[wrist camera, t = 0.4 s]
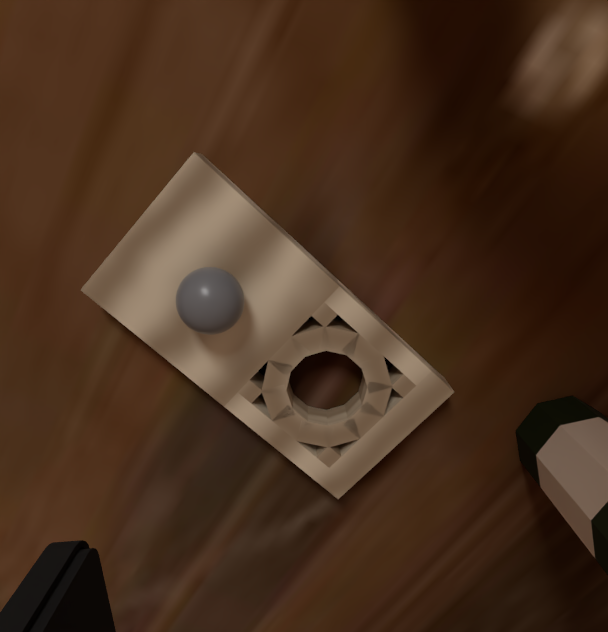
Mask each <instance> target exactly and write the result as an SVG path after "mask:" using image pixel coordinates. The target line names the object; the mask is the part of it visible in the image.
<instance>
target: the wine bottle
mask: <svg viewBox="0 0 608 632" xmlns="http://www.w3.org/2000/svg"><path fill="white" fill-rule="evenodd" d="M516 436H517V443H518V450H519V456H520V461H521V463H522V464H523V465H524V466H525V468H526V469H527V470H528V472H529V473H530V474H531V476H532V477H533V478H534V479H535V481H536V482H537V483H538V485H539V486H540V487H541V489H542V490H543V491H544V492H545V494H546V495H547V496H548V498H549V499H550V500H551V502H552V503H553V504H554V506H555V507H556V508H557V509H558V511H559V512H560V513H561V515H562V516H563V517H564V519H565V520H566V521H567V522H568V524H569V525H570V526H571V528H572V529H573V530H574V532H575V533H576V534H577V535H578V537H579V538H580V539H581V541H582V542H583V543H584V545H585V546H586V547H587V549H588V550H589V551H590V552H591V554H592V555H593V556H594V558H595V559H596V560H597V562H598V563H599V564H600V565H601V567H602V568H603V569H604V571H605V572H606V573H607V575H608V418H607V417H605V416H604V415H603V414H602V413H600V412H599V411H597V410H595V409H594V408H592V407H591V406H589V405H587V404H586V403H584V402H582V401H581V400H579V399H577V398H576V397H574V396H569V397H564V398H560V399H555V400H551V401H546V402H542V403H537V404H536V406H535V407H534V408H533V410H532V411H531V412H530V413H529V415H528V416H527V417H526V418H525V420H524V421H523V422H522V423H521V425H520V426H519V427H518V429H517V430H516Z"/></svg>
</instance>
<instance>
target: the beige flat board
mask: <svg viewBox="0 0 608 632" xmlns="http://www.w3.org/2000/svg"><path fill="white" fill-rule="evenodd" d="M204 267H216V268H220V269H223V270H225V271H227V272H229V273H230V274H232V275H233V276H234V277H235V278H236V279H237V281H238V282H239V284H240V285H241V287H242V290H243V293H244V309H243V312H242V315H241V317H240V319H239V320H238V321H237V323H236V324H235V325H234V326H233V327H231V328H230V329H228V330H227V331H225V332H222V333H219V334H214V335H208V334H201V333H198V332H196V331H194V330H192V329H190V328H189V327H188V326H187V325H186V324H185V323H184V322H183V321H182V320H181V318H180V316H179V314H178V312H177V308H176V293H177V290H178V287H179V285H180V283H181V282H182V280H183V279H184V278H185V277H186V276H187V275H188V274H189V273H191V272H193V271H195V270H197V269H200V268H204ZM81 291H82V292H84V293H85V294H86V295H87V296H89V297H90V298H91V299H92V300H93V301H95V302H96V303H97V304H98V305H100V306H101V307H102V308H103V309H105V310H106V311H107V312H108V313H109V314H111V315H112V316H113V317H114V318H116V319H117V320H118V321H119V322H121V323H122V324H123V325H124V326H125V327H127V328H128V329H129V330H130V331H132V332H133V333H134V334H135V335H137V336H138V337H139V338H140V339H141V340H143V341H144V342H145V343H146V344H148V345H149V346H150V347H151V348H153V349H154V350H155V351H156V352H157V353H159V354H160V355H161V356H162V357H164V358H165V359H166V360H167V361H169V362H170V363H171V364H172V365H173V366H175V367H176V368H177V369H178V370H180V371H181V372H182V373H183V374H185V375H186V376H187V377H188V378H189V379H191V380H192V381H193V382H194V383H196V384H197V385H198V386H199V387H201V388H202V389H203V390H204V391H205V392H207V393H208V394H209V395H210V396H212V397H213V398H214V399H215V400H216V401H218V402H219V403H220V404H221V405H223V406H224V407H225V408H226V409H228V410H229V411H230V412H231V413H232V414H234V415H235V416H236V417H237V418H239V419H240V420H241V421H242V422H244V423H245V424H246V425H247V426H248V427H250V428H251V429H252V430H253V431H255V432H256V433H257V434H258V435H260V436H261V437H262V438H263V439H264V440H266V441H267V442H268V443H269V444H271V445H272V446H273V447H274V448H276V449H277V450H278V451H279V452H280V453H282V454H283V455H284V456H285V457H287V458H288V459H289V460H290V461H292V462H293V463H294V464H295V465H296V466H298V467H299V468H300V469H301V470H303V471H304V472H305V473H306V474H308V475H309V476H310V477H311V478H312V479H314V480H315V481H316V482H317V483H319V484H320V485H321V486H322V487H324V488H325V489H326V490H327V491H328V492H330V493H331V494H332V495H333V496H335V497H336V498H337V499H339V498H340V497H341V496H342V495H344V494H345V493H346V492H347V491H348V490H349V489H350V488H351V487H352V486H353V485H354V484H355V483H357V482H358V481H359V480H360V479H361V478H362V477H363V476H364V475H365V474H366V473H367V472H368V471H370V470H371V469H372V468H373V467H374V466H375V465H376V464H377V463H378V462H379V461H380V460H381V459H382V458H384V457H385V456H386V455H387V454H388V453H389V452H390V451H391V450H392V449H393V448H394V447H395V446H397V445H398V444H399V443H400V442H401V441H402V440H403V439H404V438H405V437H406V436H407V435H408V434H410V433H411V432H412V431H413V430H414V429H415V428H416V427H417V426H418V425H419V424H420V423H421V422H423V421H424V420H425V419H426V418H427V417H428V416H429V415H430V414H431V413H432V412H433V411H434V410H436V409H437V408H438V407H439V406H440V405H441V404H442V403H443V402H444V401H445V400H446V399H447V398H449V397H450V396H451V395H452V394H453V393H454V391H453V389H452V388H451V386H450V385H449V384H448V382H447V381H446V379H445V378H444V377H443V376H442V375H441V374H440V373H439V372H437V371H436V370H435V369H434V368H433V367H432V366H431V365H430V364H429V363H428V362H427V361H426V360H424V359H423V358H422V357H421V356H420V355H419V354H418V353H417V352H416V351H415V350H414V349H412V348H411V347H410V346H409V345H408V344H407V343H406V342H405V341H404V340H403V339H402V338H401V337H399V336H398V335H397V334H396V333H395V332H394V331H393V330H392V329H391V328H390V327H389V326H388V325H386V324H385V323H384V322H383V321H382V320H381V319H380V318H379V317H378V316H377V315H376V314H375V313H373V312H372V311H371V310H370V309H369V308H368V307H367V306H366V305H365V304H364V303H363V302H362V301H360V300H359V299H358V298H357V297H356V296H355V295H354V294H353V293H352V292H351V291H350V290H349V289H347V288H346V287H345V286H344V285H343V284H342V283H341V282H340V281H339V280H338V279H337V278H336V277H334V276H333V275H332V274H331V273H330V272H329V271H328V270H327V269H326V268H325V267H324V266H323V265H321V264H320V263H319V262H318V261H317V260H316V259H315V258H314V257H313V256H312V255H311V254H310V253H308V252H307V251H306V250H305V249H304V248H303V247H302V246H301V245H300V244H299V243H298V242H297V241H295V240H294V239H293V238H292V237H291V236H290V235H289V234H288V233H287V232H286V231H285V230H284V229H282V228H281V227H280V226H279V225H278V224H277V223H276V222H275V221H274V220H273V219H272V218H271V217H269V216H268V215H267V214H266V213H265V212H264V211H263V210H262V209H261V208H260V207H259V206H257V205H256V204H255V203H254V202H253V201H252V200H251V199H250V198H249V197H248V196H247V195H246V194H244V193H243V192H242V191H241V190H240V189H239V188H238V187H237V186H236V185H235V184H234V183H233V182H231V181H230V180H229V179H228V178H227V177H226V176H225V175H224V174H223V173H222V172H221V171H220V170H218V169H217V168H216V167H215V166H214V165H213V164H212V163H211V162H210V161H209V160H208V159H207V158H205V157H204V156H203V155H202V154H199V153H195V152H194V153H193V154H192V155H191V156H190V158H189V159H188V160H187V161H186V162H185V164H184V165H183V166H182V167H181V169H180V170H179V171H178V172H177V173H176V175H175V176H174V177H173V178H172V179H171V181H170V182H169V183H168V184H167V186H166V187H165V188H164V189H163V190H162V192H161V193H160V194H159V195H158V196H157V198H156V199H155V200H154V201H153V203H152V204H151V205H150V206H149V207H148V209H147V210H146V211H145V212H144V213H143V215H142V216H141V217H140V218H139V220H138V221H137V222H136V223H135V224H134V226H133V227H132V228H131V229H130V230H129V232H128V233H127V234H126V235H125V237H124V238H123V239H122V240H121V241H120V243H119V244H118V245H117V246H116V247H115V249H114V250H113V251H112V252H111V254H110V255H109V256H108V257H107V258H106V260H105V261H104V262H103V263H102V264H101V266H100V267H99V268H98V269H97V271H96V272H95V273H94V274H93V275H92V277H91V278H90V279H89V280H88V281H87V283H86V284H85V285H84V286H83V288H82V289H81ZM337 315H339V316H340V317H341V318H342V319H343V320H344V321H343V320H338V319H334V318H335V317H336V316H337ZM311 316H312V317H313V318H314V319H313V320H310V321H307V320H308V319H309V318H310V317H311ZM323 351H329V352H334V353H339V354H343V355H347V356H348V357H349V358H350V359H351V360H353V361H354V362H355V363H356V364H357V365H358V366H359V367H360V368H362V372H363V376H362V380H361V384H360V387H359V391H358V392H357V393H356V394H355V395H354V396H353V397H352V398H351V399H350V400H349V401H348V402H347V403H346V404H345V405H342V406H339V407H335V408H331V409H328V410H324V409H319V408H314V407H310V406H307V405H306V404H305V403H303V402H302V401H301V400H300V399H299V398H297V397H296V396H295V395H294V394H293V391H292V389H291V386H290V383H289V377H290V373H291V371H292V370H293V369H294V368H295V367H296V366H297V365H298V364H299V363H300V362H301V361H302V360H303V359H304V357H306V356H309V355H313V354H316V353H320V352H323ZM384 357H385V358H386V359H388V360H389V361H390V362H391V363H392V364H393V366H392V367H391V368H390V369H389V370H388V369H387V366H386V362H385V359H384ZM267 361H268V363H267V367H266V372H265V376H263V375H262V374H261V373H260V372H258V371H259V370H260V369H261V368H262V366H263V365H264V364H265V363H266V362H267ZM261 393H262V394H263V396H262V395H261Z"/></svg>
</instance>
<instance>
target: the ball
mask: <svg viewBox="0 0 608 632" xmlns="http://www.w3.org/2000/svg"><path fill="white" fill-rule="evenodd" d="M176 308H177V312H178V314H179V316H180V318H181V320H182V321H183V322H184V323H185V324H186V325H187V326H188V327H189V328H190V329H192V330H194V331H196V332H198V333H201V334H208V335H214V334H219V333H222V332H225V331H227V330H228V329H230V328H231V327H233V326H234V325H235V324H236V323H237V321H238V320H239V319H240V317H241V315H242V312H243V309H244V293H243V290H242V287H241V285H240V284H239V282H238V281H237V279H236V278H235V277H234V276H233V275H232V274H230V273H229V272H227V271H225V270H223V269H220V268H216V267H204V268H200V269H197V270H195V271H193V272H191V273H189V274H188V275H187V276H186V277H185V278H184V279H183V280H182V282H181V283H180V285H179V287H178V290H177V293H176Z"/></svg>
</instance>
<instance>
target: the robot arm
mask: <svg viewBox="0 0 608 632" xmlns="http://www.w3.org/2000/svg"><path fill="white" fill-rule="evenodd" d="M0 632H116V631H115V626H114V622H113V617H112V613H111V608H110V604H109V599H108V594H107V590H106V585H105V581H104V576H103V572H102V567H101V563H100V558H99V554H98V551H97V550H96V549H94V548H91V549H90V548H89V545H88V544H87V542H86V541H83V540H82V541H68V542H55V543H51V544H49V545H48V546H47V547H46V548H45V550H44V551H43V553H42V554H41V556H40V557H39V558H38V560H37V561H36V563H35V564H34V565H33V567H32V568H31V570H30V571H29V573H28V574H27V575H26V577H25V578H24V580H23V581H22V582H21V584H20V585H19V587H18V588H17V590H16V591H15V592H14V594H13V595H12V597H11V598H10V599H9V601H8V602H7V604H6V605H5V607H4V608H3V609H2V611H1V612H0Z"/></svg>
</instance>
